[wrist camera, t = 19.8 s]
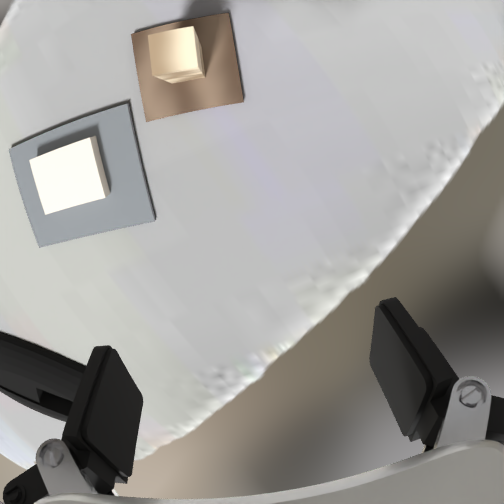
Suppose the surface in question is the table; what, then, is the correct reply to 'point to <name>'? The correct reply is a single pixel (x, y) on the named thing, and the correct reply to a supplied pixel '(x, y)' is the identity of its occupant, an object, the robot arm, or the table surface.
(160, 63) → the block
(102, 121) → the mat
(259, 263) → the table surface
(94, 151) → the tile
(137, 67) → the plate
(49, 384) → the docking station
